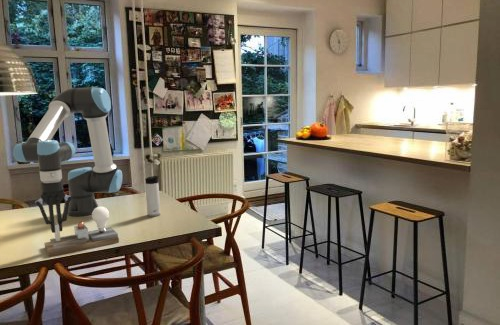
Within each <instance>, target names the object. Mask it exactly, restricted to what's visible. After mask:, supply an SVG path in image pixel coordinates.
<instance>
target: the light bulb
mask: <svg viewBox="0 0 500 325" xmlns="http://www.w3.org/2000/svg"><path fill="white" fill-rule="evenodd" d="M91 217H92V219H93V221H94V222H95V223H96V227H97V230H98V231H99V232H104V231H105V228H106V226H107V221H108V219H109V217H110V212H109V209H107V207H106V206H102V205H101V206H98V207H97V208H95V209H94V210H93V212H92V214H91Z"/></svg>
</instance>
